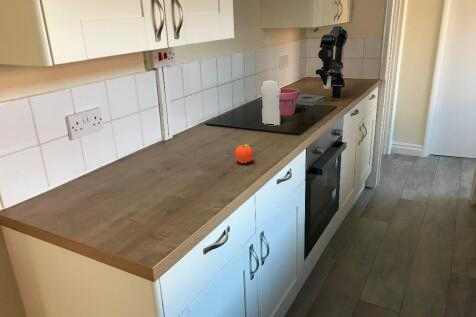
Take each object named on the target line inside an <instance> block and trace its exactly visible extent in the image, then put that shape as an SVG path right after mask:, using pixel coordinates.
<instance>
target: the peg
mask: <svg viewBox="0 0 476 317" xmlns="http://www.w3.org/2000/svg"><path fill="white" fill-rule="evenodd" d="M323 89H324V90H325V89H326V90H330V89H332V87H331V76H328V79H327V85H326V86H325V85H324V84H323Z"/></svg>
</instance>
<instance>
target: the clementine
mask: <svg viewBox="0 0 476 317" xmlns="http://www.w3.org/2000/svg"><path fill="white" fill-rule="evenodd" d="M234 156H235V159H236V160H237V161H238V162H239V163H240V164H247V162H248V163H250V162H251V161H252V160H253V158H254V151H253V148H252V146H251V145H250V144H242V145H239V146H238V147H237V148H236V149H235V152H234Z"/></svg>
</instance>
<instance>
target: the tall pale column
mask: <svg viewBox="0 0 476 317" xmlns="http://www.w3.org/2000/svg"><path fill="white" fill-rule="evenodd" d="M281 89H282V88H280V86H279V81H276V80H275V81H274V80H271V79H270V80H264V81H262V86H261V87H260V95H261V98H262V100H261V101H262V109H261V116H262V117H261V118H262V119H261V120H262V123H264V124H263V125H266V124H274V125H273V126H277V125H278V126H281V115H280V110H279V99H280V98H279V97H280V95H281Z"/></svg>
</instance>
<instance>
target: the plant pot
mask: <svg viewBox="0 0 476 317" xmlns="http://www.w3.org/2000/svg"><path fill="white" fill-rule="evenodd" d="M280 89H281V95H280V97H279V98H280V99H279V110H280V116H292V115H294V114H295V110H296V108H297V104H296V103H297V98H299V95H300V90H299V89H296V88H280Z"/></svg>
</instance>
